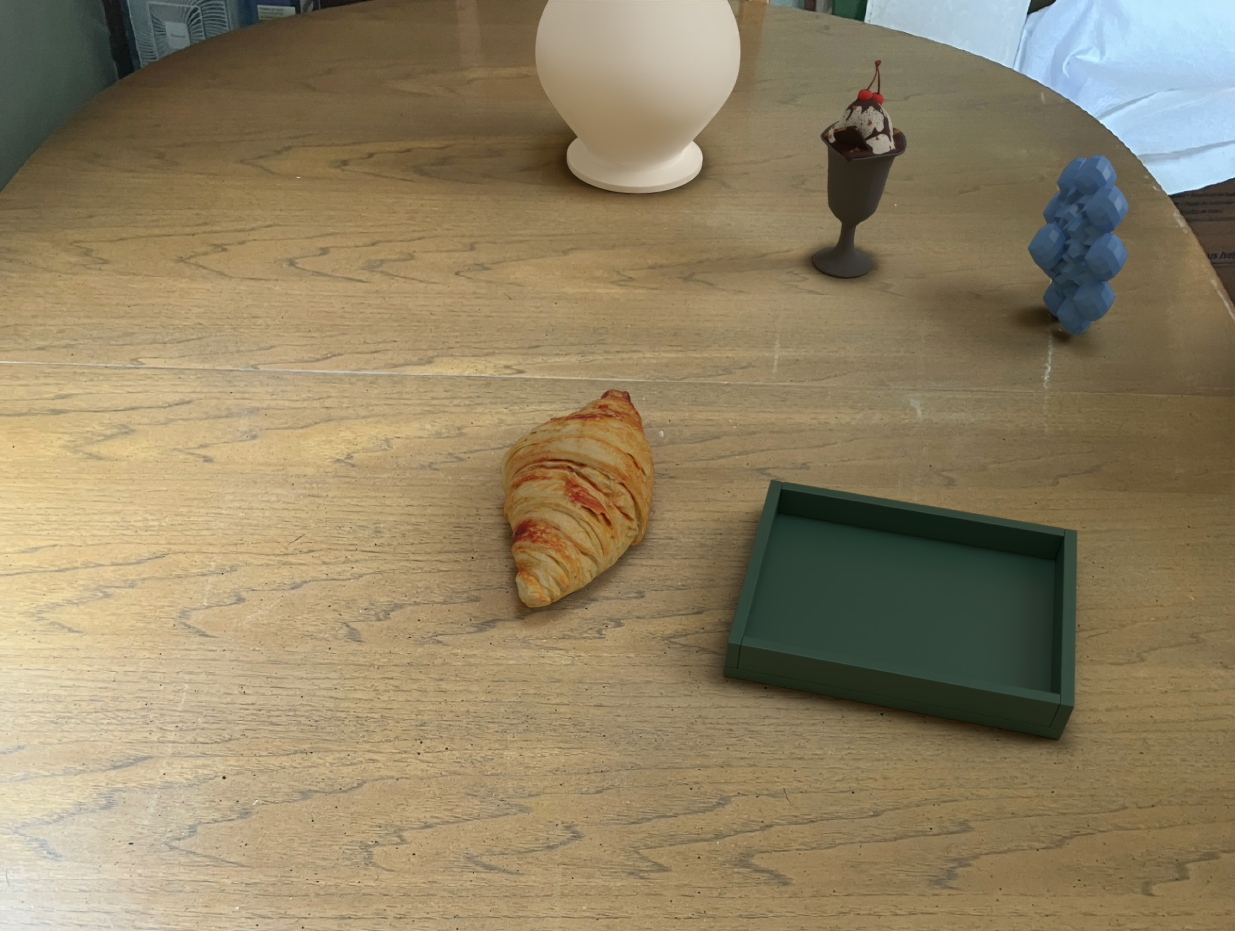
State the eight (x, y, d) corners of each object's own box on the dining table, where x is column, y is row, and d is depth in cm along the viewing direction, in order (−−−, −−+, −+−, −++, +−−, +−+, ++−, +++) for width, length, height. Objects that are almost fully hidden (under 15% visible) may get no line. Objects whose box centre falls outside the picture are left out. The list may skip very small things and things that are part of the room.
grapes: (983, 281, 102) (1024, 130, 92) (1062, 277, 102) (1109, 127, 93) (1030, 360, 95) (1079, 205, 85) (1114, 355, 95) (1172, 201, 86)
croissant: (578, 670, 78) (639, 599, 71) (436, 591, 75) (487, 510, 69) (651, 464, 90) (708, 389, 84) (532, 390, 88) (582, 307, 82)
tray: (1064, 563, 80) (1077, 530, 78) (1059, 739, 70) (1075, 706, 68) (765, 513, 82) (770, 478, 80) (722, 675, 73) (726, 642, 71)
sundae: (860, 237, 106) (894, 47, 94) (895, 276, 102) (935, 82, 90) (790, 248, 105) (815, 56, 93) (823, 288, 101) (853, 93, 89)
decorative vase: (499, 155, 114) (481, -178, 95) (639, 102, 122) (649, -216, 102) (628, 228, 106) (638, -119, 87) (770, 166, 114) (808, -165, 94)
